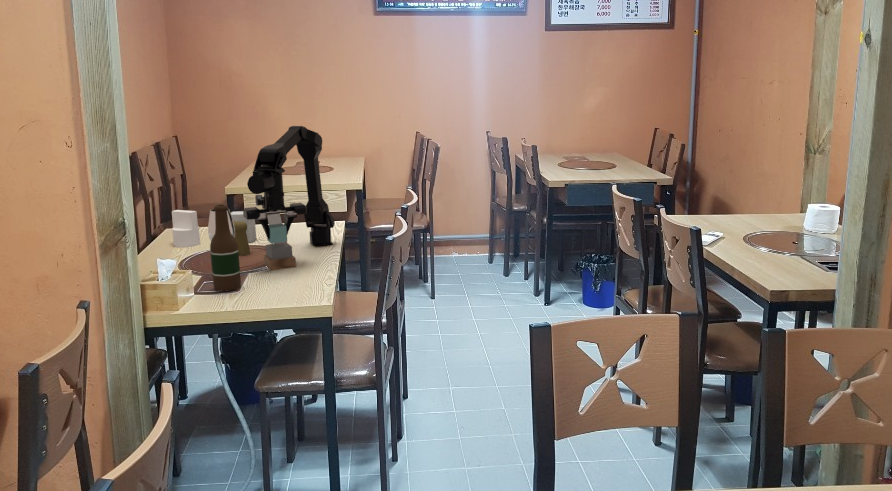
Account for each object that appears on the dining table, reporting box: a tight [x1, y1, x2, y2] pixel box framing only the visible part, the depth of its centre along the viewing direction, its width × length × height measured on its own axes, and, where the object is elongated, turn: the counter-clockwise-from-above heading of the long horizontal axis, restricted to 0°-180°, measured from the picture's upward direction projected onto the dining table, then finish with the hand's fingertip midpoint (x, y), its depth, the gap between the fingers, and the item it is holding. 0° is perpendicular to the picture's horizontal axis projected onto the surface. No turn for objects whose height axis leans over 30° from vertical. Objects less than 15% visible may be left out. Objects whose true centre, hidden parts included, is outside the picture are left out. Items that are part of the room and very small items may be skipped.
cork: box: [234, 221, 251, 257], centre depth 257 cm, size 6×6×11 cm
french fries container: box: [266, 210, 288, 244], centre depth 264 cm, size 5×11×18 cm, turn 16°
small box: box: [230, 210, 257, 243], centre depth 276 cm, size 8×6×10 cm
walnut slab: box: [263, 254, 297, 271], centre depth 242 cm, size 8×8×4 cm
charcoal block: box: [265, 242, 294, 260], centre depth 241 cm, size 6×6×4 cm
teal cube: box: [266, 222, 288, 244], centre depth 240 cm, size 5×5×5 cm
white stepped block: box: [171, 209, 201, 248], centre depth 272 cm, size 9×9×12 cm
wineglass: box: [207, 208, 235, 242], centre depth 231 cm, size 8×8×20 cm
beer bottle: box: [209, 204, 242, 292], centre depth 217 cm, size 8×8×24 cm
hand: (277, 238), depth 240 cm, fingers closed on teal cube, 5 cm apart
